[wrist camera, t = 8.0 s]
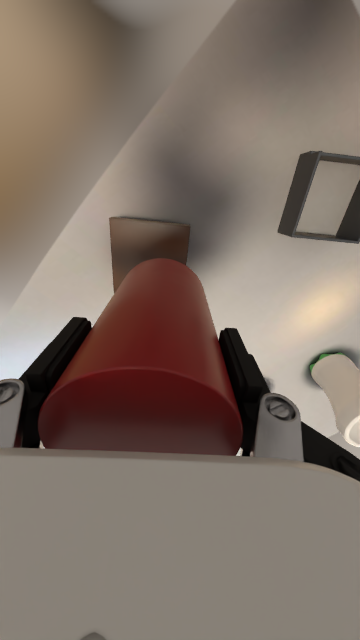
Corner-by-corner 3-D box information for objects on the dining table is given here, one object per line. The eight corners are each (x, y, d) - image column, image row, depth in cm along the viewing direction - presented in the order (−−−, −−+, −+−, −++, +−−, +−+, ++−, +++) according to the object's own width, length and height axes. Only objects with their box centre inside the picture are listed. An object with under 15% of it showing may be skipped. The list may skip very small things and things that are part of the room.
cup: (346, 382, 48) (405, 446, 35) (295, 385, 48) (336, 450, 36) (363, 340, 42) (440, 400, 30) (305, 345, 42) (358, 405, 30)
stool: (118, 214, 31) (109, 217, 26) (188, 222, 31) (190, 225, 27) (121, 281, 36) (113, 293, 31) (181, 286, 36) (182, 299, 32)
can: (118, 254, 15) (7, 359, 5) (210, 262, 15) (270, 375, 5) (121, 332, 18) (58, 489, 8) (198, 337, 18) (222, 493, 9)
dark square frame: (300, 154, 27) (320, 147, 24) (369, 163, 28) (400, 157, 24) (277, 232, 32) (291, 236, 28) (336, 238, 33) (358, 243, 29)
